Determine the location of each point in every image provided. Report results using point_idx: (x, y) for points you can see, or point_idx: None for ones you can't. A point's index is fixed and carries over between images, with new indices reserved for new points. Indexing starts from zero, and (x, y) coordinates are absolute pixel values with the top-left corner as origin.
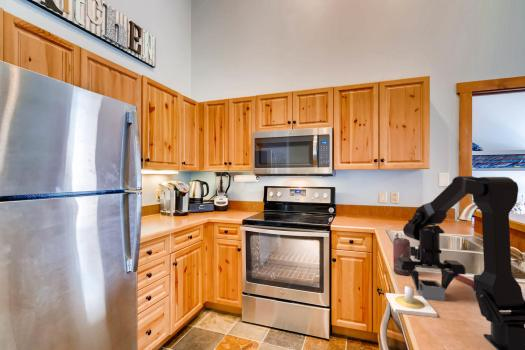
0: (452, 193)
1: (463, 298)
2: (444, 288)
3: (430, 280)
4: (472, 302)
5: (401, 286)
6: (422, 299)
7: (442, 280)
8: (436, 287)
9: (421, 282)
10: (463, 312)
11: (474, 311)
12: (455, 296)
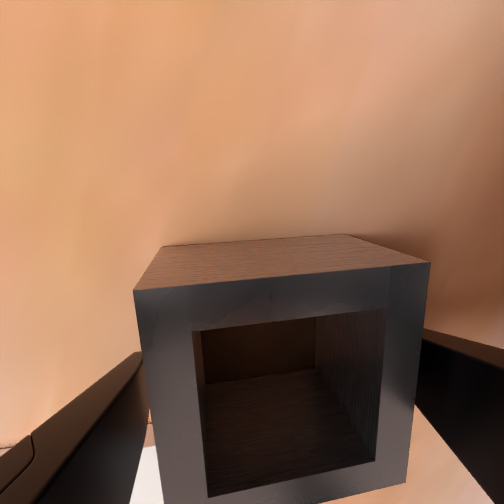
0: None
1: (484, 294)
2: (399, 482)
3: (351, 284)
4: (500, 341)
5: (8, 168)
6: (155, 502)
7: (492, 400)
8: (326, 495)
9: (191, 408)
10: (370, 496)
11: (436, 459)
12: (450, 275)
